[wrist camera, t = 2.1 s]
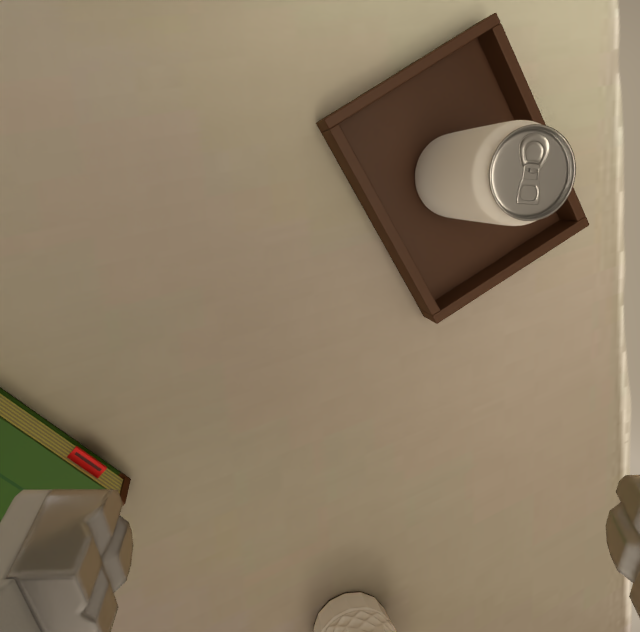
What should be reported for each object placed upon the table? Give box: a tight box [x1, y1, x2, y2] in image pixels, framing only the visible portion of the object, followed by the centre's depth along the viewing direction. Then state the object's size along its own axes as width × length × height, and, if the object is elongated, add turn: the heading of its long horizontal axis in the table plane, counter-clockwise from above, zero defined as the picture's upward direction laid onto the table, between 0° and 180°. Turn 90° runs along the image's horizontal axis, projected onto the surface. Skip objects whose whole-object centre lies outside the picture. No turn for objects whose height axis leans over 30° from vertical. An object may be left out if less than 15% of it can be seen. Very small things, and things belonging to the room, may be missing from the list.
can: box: [415, 120, 576, 226], centre depth 41 cm, size 6×6×12 cm
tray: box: [316, 13, 589, 324], centre depth 46 cm, size 18×15×3 cm
